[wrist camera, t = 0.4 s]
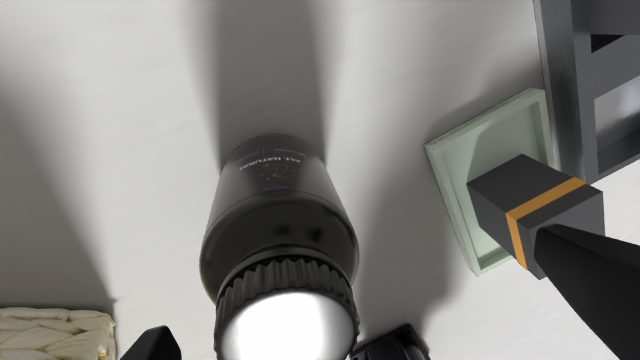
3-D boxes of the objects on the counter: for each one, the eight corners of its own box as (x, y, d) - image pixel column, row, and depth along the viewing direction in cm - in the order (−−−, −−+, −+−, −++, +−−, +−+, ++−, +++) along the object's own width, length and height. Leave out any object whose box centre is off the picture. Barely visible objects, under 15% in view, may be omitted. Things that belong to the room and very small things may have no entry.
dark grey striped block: (531, 199, 25) (606, 246, 20) (478, 227, 25) (538, 281, 20) (522, 152, 23) (603, 190, 18) (465, 183, 23) (527, 229, 18)
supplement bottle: (276, 107, 19) (305, 212, 8) (344, 182, 22) (430, 328, 11) (195, 181, 20) (127, 358, 9) (271, 242, 23) (285, 429, 12)
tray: (552, 223, 27) (564, 231, 26) (468, 267, 28) (476, 276, 27) (530, 87, 21) (544, 90, 20) (423, 145, 22) (432, 151, 21)
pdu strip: (651, 122, 25) (690, 132, 22) (556, 172, 25) (585, 187, 23) (660, -129, 17) (720, -152, 15) (525, -53, 18) (565, -64, 15)
